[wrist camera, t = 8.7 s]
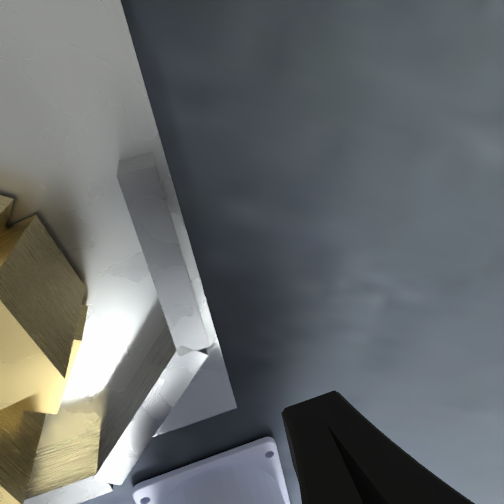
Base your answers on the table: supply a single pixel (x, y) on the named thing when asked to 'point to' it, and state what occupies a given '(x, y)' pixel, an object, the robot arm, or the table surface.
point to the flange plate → (104, 242)
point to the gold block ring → (32, 342)
